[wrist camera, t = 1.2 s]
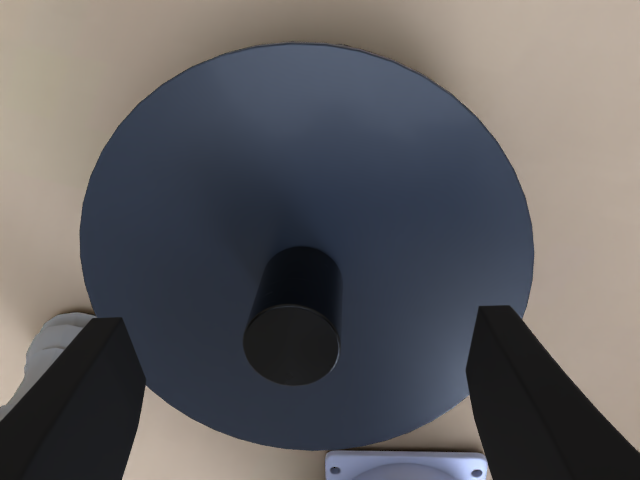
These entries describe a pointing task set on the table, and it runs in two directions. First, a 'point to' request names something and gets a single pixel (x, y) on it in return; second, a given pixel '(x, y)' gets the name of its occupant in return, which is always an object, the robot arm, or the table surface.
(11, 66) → the table surface
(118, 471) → the robot arm
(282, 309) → the pot lid
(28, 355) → the rook chess piece
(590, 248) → the table surface
